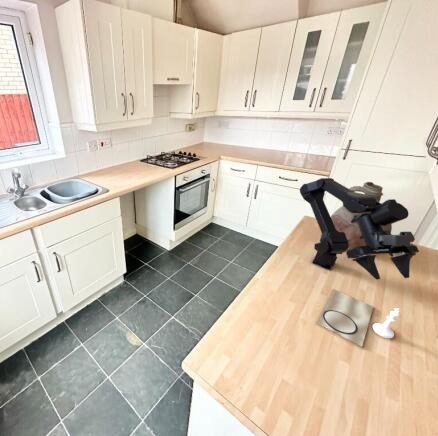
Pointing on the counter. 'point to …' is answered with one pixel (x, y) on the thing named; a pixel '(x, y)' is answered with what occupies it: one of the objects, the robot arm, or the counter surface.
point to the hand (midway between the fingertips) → (392, 278)
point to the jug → (344, 217)
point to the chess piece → (387, 325)
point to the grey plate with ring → (347, 317)
